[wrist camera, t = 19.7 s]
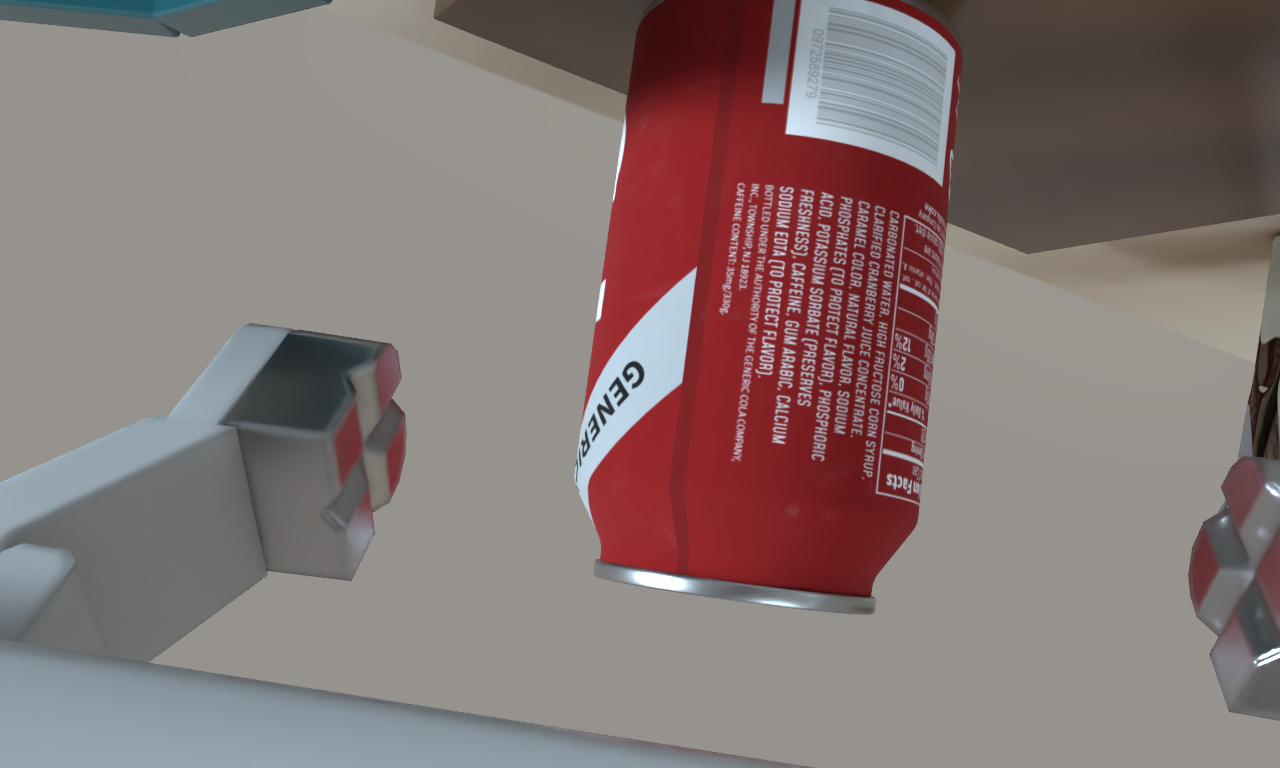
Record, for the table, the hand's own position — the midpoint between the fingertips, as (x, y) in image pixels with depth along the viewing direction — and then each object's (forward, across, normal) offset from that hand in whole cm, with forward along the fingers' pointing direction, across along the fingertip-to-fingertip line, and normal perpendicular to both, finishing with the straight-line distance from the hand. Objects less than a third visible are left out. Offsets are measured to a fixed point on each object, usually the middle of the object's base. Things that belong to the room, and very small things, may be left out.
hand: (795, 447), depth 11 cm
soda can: (+15, 0, +1) cm, 15 cm away
